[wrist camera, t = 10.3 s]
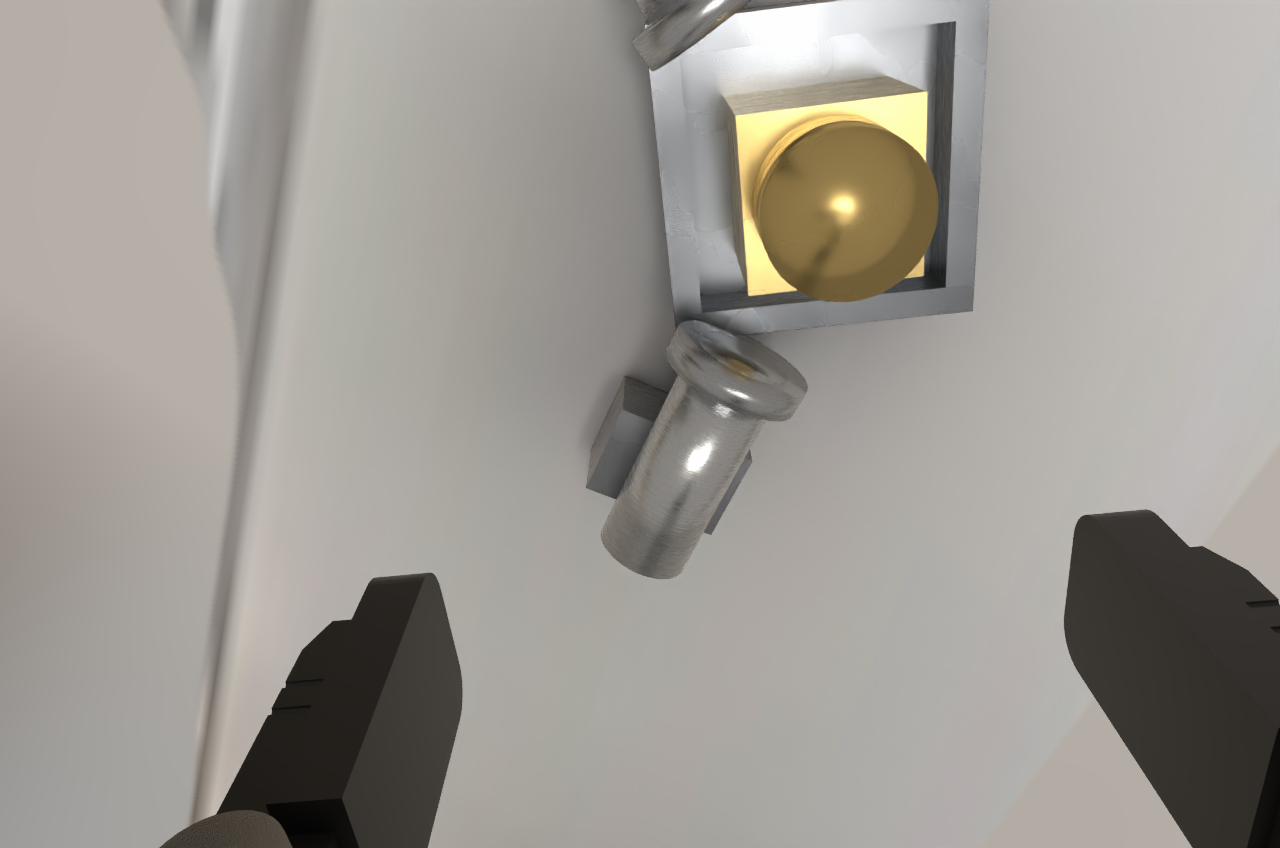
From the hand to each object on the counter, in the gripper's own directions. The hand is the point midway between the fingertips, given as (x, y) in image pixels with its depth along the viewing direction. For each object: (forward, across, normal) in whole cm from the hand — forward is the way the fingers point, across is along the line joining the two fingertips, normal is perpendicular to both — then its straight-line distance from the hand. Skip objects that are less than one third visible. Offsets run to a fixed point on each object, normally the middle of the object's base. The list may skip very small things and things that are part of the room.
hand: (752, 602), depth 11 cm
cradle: (+18, -4, -2) cm, 18 cm away
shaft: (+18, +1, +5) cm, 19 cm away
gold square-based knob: (+17, -4, -2) cm, 18 cm away
